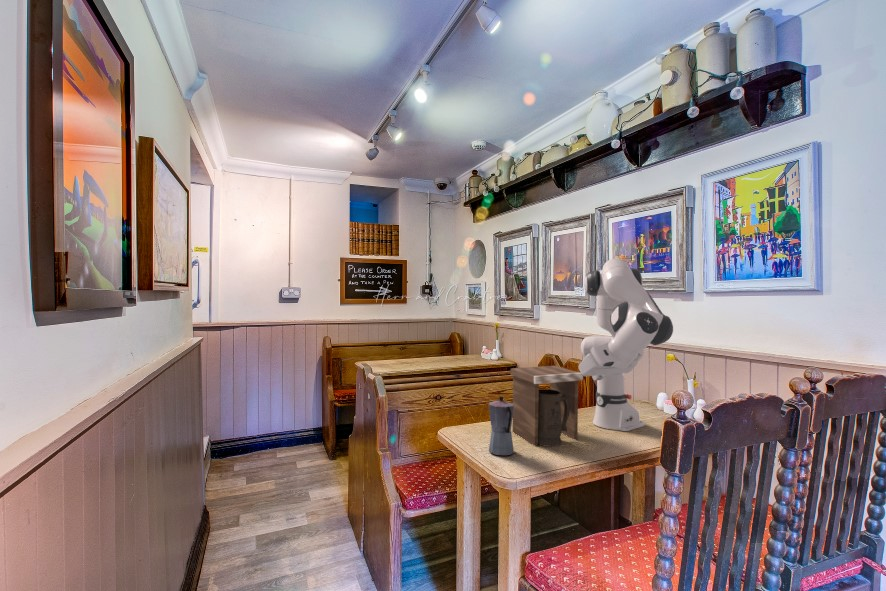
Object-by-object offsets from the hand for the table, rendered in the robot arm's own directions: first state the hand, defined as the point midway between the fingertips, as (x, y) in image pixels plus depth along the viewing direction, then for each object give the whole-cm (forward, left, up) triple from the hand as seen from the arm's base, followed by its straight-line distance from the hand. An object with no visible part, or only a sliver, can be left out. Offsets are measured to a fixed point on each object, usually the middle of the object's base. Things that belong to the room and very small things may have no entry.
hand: (596, 378), depth 141 cm
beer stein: (0, -24, -29) cm, 38 cm away
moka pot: (+25, -20, -29) cm, 43 cm away
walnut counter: (0, -29, -29) cm, 41 cm away
